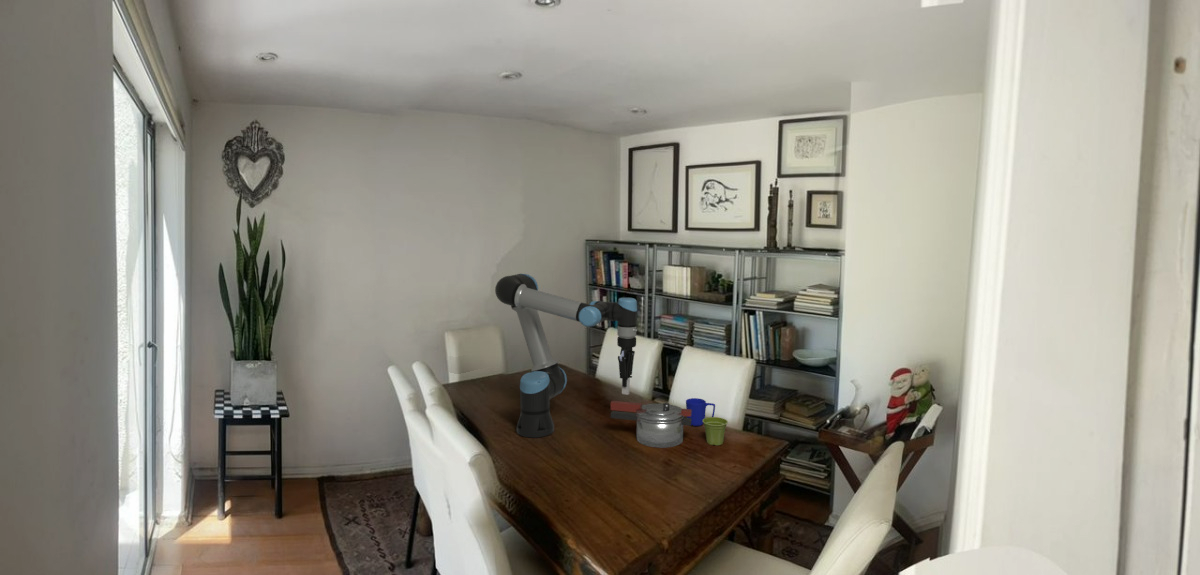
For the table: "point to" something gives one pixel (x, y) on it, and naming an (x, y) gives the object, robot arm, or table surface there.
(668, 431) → the pot
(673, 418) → the lid
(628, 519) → the table surface
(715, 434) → the plant pot
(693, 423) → the mug
